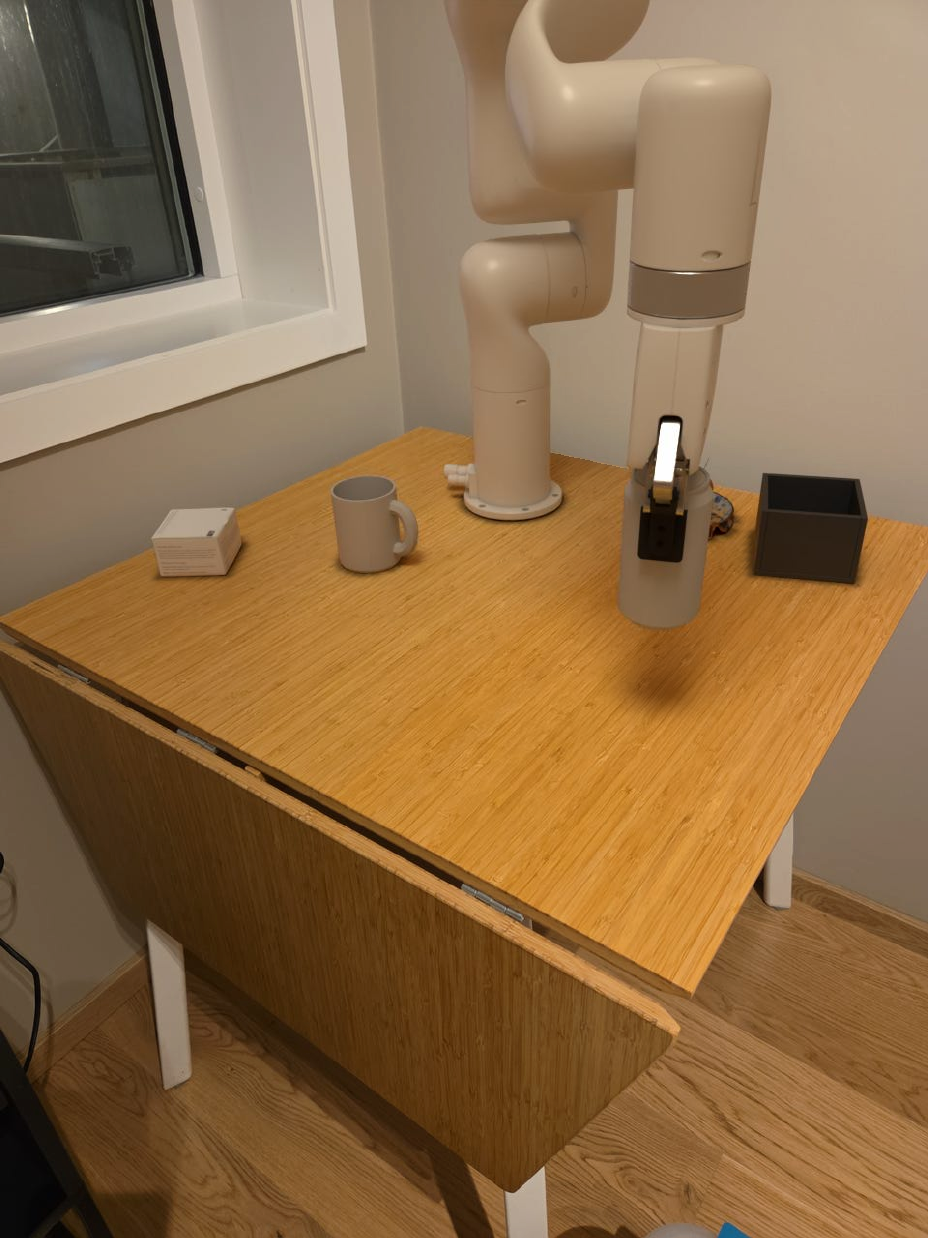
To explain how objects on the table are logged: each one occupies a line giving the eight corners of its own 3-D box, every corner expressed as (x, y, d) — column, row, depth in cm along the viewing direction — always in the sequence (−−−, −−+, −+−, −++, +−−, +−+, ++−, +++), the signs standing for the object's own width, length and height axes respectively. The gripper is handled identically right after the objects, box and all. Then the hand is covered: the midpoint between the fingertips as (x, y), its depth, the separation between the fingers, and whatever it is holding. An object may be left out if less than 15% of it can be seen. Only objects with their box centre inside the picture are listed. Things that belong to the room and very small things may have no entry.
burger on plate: (628, 499, 115) (631, 444, 111) (722, 497, 114) (728, 441, 110) (640, 542, 105) (644, 483, 101) (743, 540, 104) (751, 480, 100)
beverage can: (706, 601, 73) (724, 463, 66) (688, 643, 68) (705, 498, 62) (629, 586, 75) (639, 451, 69) (606, 626, 70) (614, 484, 64)
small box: (179, 546, 109) (170, 507, 107) (243, 544, 109) (236, 506, 106) (159, 577, 103) (148, 537, 100) (226, 576, 102) (218, 535, 100)
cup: (359, 541, 108) (351, 471, 104) (434, 554, 105) (429, 483, 100) (328, 568, 103) (317, 496, 98) (405, 583, 99) (399, 509, 94)
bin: (753, 574, 97) (762, 510, 93) (754, 533, 106) (762, 472, 102) (854, 584, 95) (868, 518, 91) (847, 540, 103) (859, 478, 99)
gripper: (643, 259, 66) (628, 484, 76) (609, 324, 52) (596, 589, 62) (749, 261, 64) (720, 491, 74) (744, 328, 50) (709, 601, 60)
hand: (664, 534), depth 68 cm, fingers closed on beverage can, 6 cm apart
